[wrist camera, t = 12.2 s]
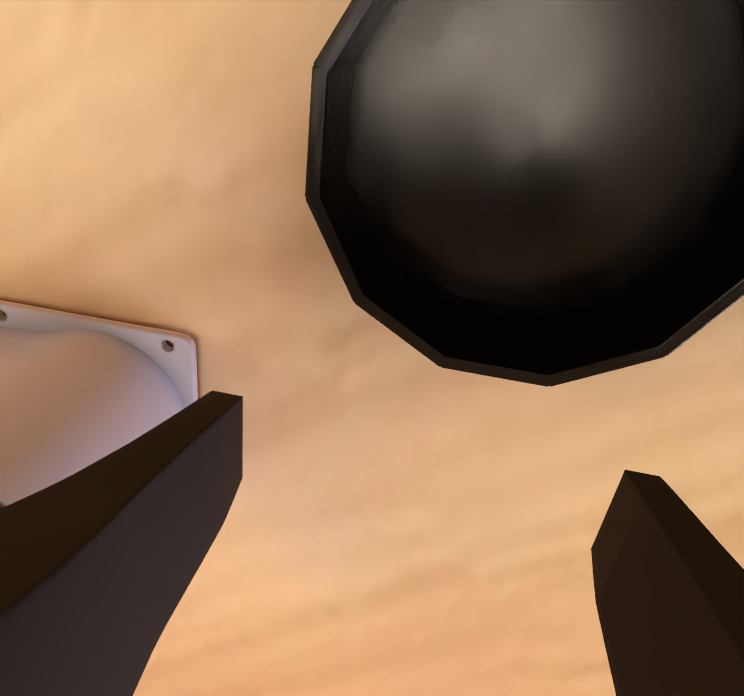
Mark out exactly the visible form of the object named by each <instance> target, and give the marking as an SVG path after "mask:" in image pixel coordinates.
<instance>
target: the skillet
mask: <svg viewBox="0 0 744 696" xmlns="http://www.w3.org/2000/svg"><path fill="white" fill-rule="evenodd" d="M305 197H306V201H307V203H308V206H309V208H310V210H311V212H312V214H313V216H314V218H315V221H316V223H317V225H318V227H319V229H320V231H321V233H322V235H323V238H324V240H325V242H326V244H327V246H328V248H329V250H330V253H331V255H332V257H333V259H334V261H335V263H336V265H337V268H338V270H339V272H340V274H341V276H342V278H343V280H344V283H345V285H346V287H347V289H348V291H349V293H350V295H351V297H352V300H353V301H354V302H355V304H356V305H358V306H359V307H360V308H362V309H363V310H364V311H366V312H367V313H368V314H370V315H371V316H372V317H374V318H375V319H376V320H378V321H379V322H380V323H382V324H383V325H384V326H386V327H387V328H388V329H390V330H391V331H392V332H394V333H395V334H396V335H398V336H399V337H401V338H402V339H403V340H405V341H406V342H407V343H409V344H410V345H411V346H413V347H414V348H415V349H417V350H418V351H419V352H421V353H422V354H423V355H425V356H426V357H427V358H429V359H430V360H431V361H433V362H434V363H435V364H437V365H438V366H441V367H442V368H447V369H453V370H458V371H464V372H469V373H475V374H480V375H486V376H491V377H497V378H503V379H508V380H514V381H519V382H525V383H530V384H536V385H541V386H547V387H548V386H555V385H558V384H562V383H566V382H570V381H574V380H578V379H582V378H586V377H589V376H593V375H597V374H601V373H605V372H609V371H613V370H617V369H620V368H624V367H628V366H632V365H636V364H640V363H644V362H648V361H651V360H655V359H659V358H663V357H665V355H666V356H668V355H669V354H670V353H672V352H673V351H674V350H675V349H677V348H678V347H679V346H680V345H682V344H683V343H684V342H685V341H687V340H688V339H689V338H691V337H692V336H693V335H694V334H696V333H697V332H698V331H699V330H701V329H702V328H703V327H704V326H706V325H707V324H708V323H709V322H711V321H712V320H713V319H714V318H716V317H717V316H718V315H720V314H721V313H722V312H723V311H725V310H726V309H727V308H728V307H730V306H731V305H732V304H733V303H735V302H736V301H737V300H738V299H740V298H741V297H742V296H744V0H352V1H351V3H350V4H349V6H348V8H347V9H346V11H345V13H344V14H343V16H342V17H341V19H340V21H339V22H338V24H337V26H336V27H335V29H334V31H333V32H332V34H331V36H330V37H329V39H328V40H327V42H326V44H325V45H324V47H323V49H322V50H321V52H320V54H319V55H318V57H317V59H316V60H315V62H314V66H313V67H312V83H311V101H310V119H309V136H308V154H307V172H306V189H305Z"/></svg>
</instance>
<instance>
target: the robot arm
mask: <svg viewBox="0 0 744 696" xmlns="http://www.w3.org/2000/svg"><path fill="white" fill-rule="evenodd" d="M2 311H3V312H4V313H5V314H6V316H5V315H4V314H3V312H2ZM166 340H168V341H171V343H172V344H173V345H174V347H171V346H169V345H168V344H167V342H166ZM242 435H243V396H238V395H232V394H227V393H222V392H217V391H211V392H209V393H208V394H206V395H204V396H203V397H201V398H199V399H198V384H197V361H196V345H195V342H194V340H193V339H192V338H191V337H190V336H189V335H187V334H185V333H180V332H175V331H169V330H164V329H158V328H153V327H147V326H142V325H136V324H131V323H125V322H120V321H114V320H109V319H103V318H97V317H92V316H86V315H81V314H75V313H70V312H64V311H59V310H53V309H48V308H42V307H37V306H31V305H26V304H20V303H15V302H9V301H3V300H0V696H133V693H134V691H135V689H136V687H137V685H138V682H139V680H140V678H141V676H142V673H143V671H144V669H145V667H146V665H147V662H148V660H149V658H150V656H151V653H152V651H153V649H154V647H155V645H156V643H157V641H158V640H159V638H160V636H161V634H162V632H163V630H164V628H165V626H166V624H167V622H168V621H169V619H170V617H171V615H172V614H173V612H174V610H175V608H176V607H177V605H178V603H179V601H180V600H181V598H182V596H183V594H184V593H185V591H186V589H187V587H188V586H189V584H190V582H191V580H192V579H193V577H194V575H195V573H196V572H197V570H198V568H199V566H200V565H201V563H202V561H203V559H204V557H205V556H206V554H207V552H208V550H209V549H210V547H211V545H212V543H213V541H214V540H215V538H216V536H217V534H218V532H219V531H220V529H221V527H222V525H223V523H224V521H225V519H226V516H227V514H228V512H229V509H230V507H231V505H232V502H233V500H234V497H235V495H236V492H237V490H238V487H239V485H240V482H241V480H242ZM591 551H592V565H593V578H594V588H595V598H596V605H597V610H598V615H599V620H600V624H601V629H602V633H603V638H604V643H605V647H606V652H607V656H608V661H609V665H610V669H611V674H612V678H613V683H614V687H615V692H616V696H744V569H743V568H742V567H741V566H740V565H739V564H738V563H737V562H736V560H735V559H734V558H733V557H732V556H731V555H730V554H729V553H728V552H727V551H726V549H725V548H724V547H723V546H722V545H721V544H720V543H719V542H718V541H717V539H716V538H715V537H714V536H713V535H712V534H711V533H710V532H709V530H708V529H707V528H706V527H705V526H704V525H703V524H702V522H701V521H700V520H699V519H698V518H697V517H696V516H695V515H694V513H693V512H692V511H691V510H690V509H689V508H688V507H687V505H686V504H685V503H684V502H683V501H682V500H681V499H680V498H679V496H678V495H677V494H676V493H675V492H674V491H673V490H672V489H671V488H670V487H669V485H668V484H667V483H666V482H665V481H664V480H663V479H662V478H661V477H660V476H655V475H650V474H645V473H639V472H634V471H629V470H625V471H624V474H623V476H622V478H621V481H620V483H619V485H618V488H617V490H616V492H615V495H614V497H613V499H612V502H611V504H610V506H609V508H608V511H607V513H606V515H605V518H604V520H603V522H602V525H601V527H600V529H599V532H598V534H597V536H596V539H595V541H594V543H593V546H592V548H591Z"/></svg>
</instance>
